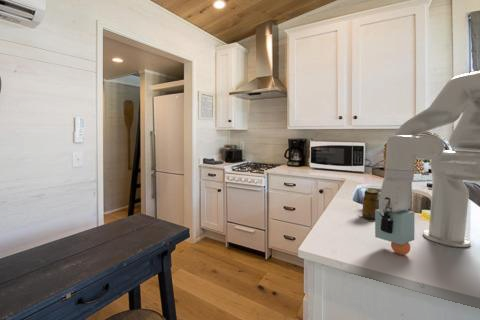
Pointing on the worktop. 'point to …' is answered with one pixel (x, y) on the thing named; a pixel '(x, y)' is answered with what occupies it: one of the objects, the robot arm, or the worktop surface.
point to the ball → (401, 248)
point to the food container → (378, 193)
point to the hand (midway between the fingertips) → (393, 229)
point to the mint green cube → (397, 227)
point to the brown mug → (370, 205)
